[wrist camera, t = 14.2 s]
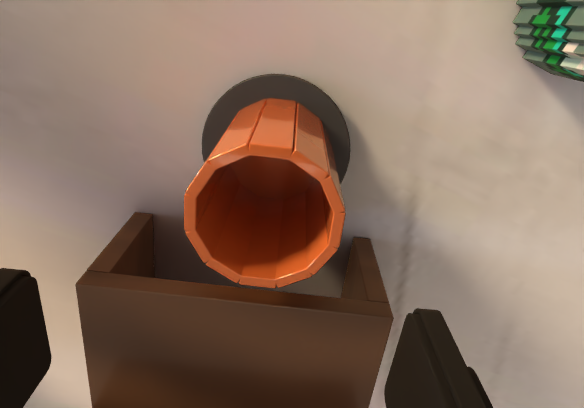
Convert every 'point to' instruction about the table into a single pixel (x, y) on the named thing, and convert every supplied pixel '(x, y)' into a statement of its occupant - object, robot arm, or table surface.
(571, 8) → the can
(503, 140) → the table surface
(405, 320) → the robot arm
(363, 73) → the table surface
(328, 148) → the cup
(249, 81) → the coaster
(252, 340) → the shelf
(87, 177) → the table surface
